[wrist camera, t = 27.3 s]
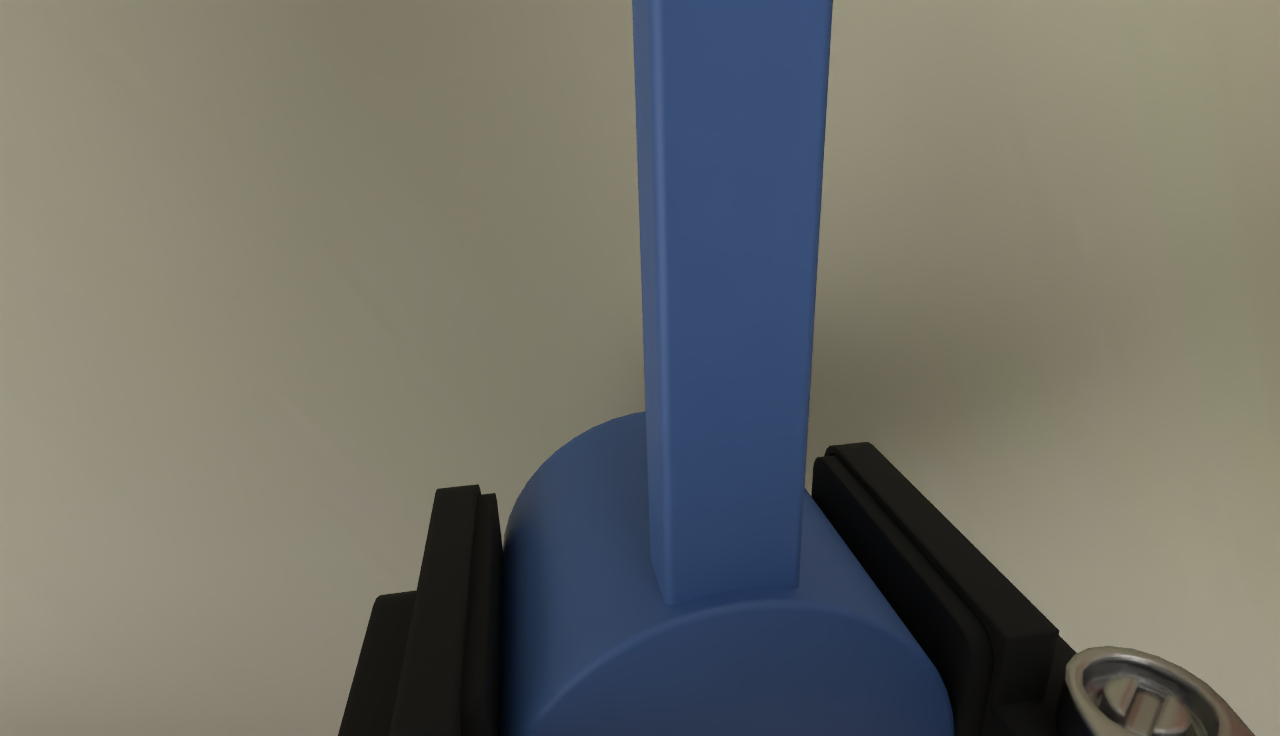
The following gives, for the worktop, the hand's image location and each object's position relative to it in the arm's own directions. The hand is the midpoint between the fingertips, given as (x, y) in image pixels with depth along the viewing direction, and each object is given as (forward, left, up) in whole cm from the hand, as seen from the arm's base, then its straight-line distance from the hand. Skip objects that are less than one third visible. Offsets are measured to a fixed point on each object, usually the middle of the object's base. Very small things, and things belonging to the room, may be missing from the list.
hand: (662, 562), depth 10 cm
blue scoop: (-2, -1, 0) cm, 2 cm away
